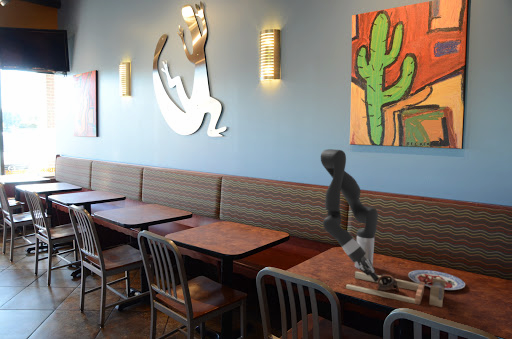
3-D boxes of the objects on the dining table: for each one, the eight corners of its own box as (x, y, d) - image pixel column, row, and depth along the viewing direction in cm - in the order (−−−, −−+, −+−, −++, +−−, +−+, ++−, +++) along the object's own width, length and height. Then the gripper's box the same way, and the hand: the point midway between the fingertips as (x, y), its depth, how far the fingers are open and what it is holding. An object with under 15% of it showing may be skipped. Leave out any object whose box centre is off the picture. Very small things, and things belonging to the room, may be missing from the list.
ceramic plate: (408, 287, 190) (408, 281, 190) (407, 271, 214) (408, 265, 214) (468, 297, 181) (469, 291, 181) (460, 279, 205) (461, 273, 205)
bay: (355, 276, 201) (356, 269, 201) (423, 290, 186) (424, 282, 186) (346, 288, 185) (346, 280, 185) (419, 304, 170) (420, 295, 170)
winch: (431, 294, 182) (433, 275, 181) (443, 297, 180) (445, 277, 179) (428, 306, 169) (430, 286, 168) (441, 309, 166) (443, 288, 165)
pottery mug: (404, 295, 181) (399, 281, 178) (384, 303, 181) (380, 290, 178) (391, 279, 192) (387, 266, 189) (374, 287, 192) (369, 274, 189)
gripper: (356, 249, 184) (381, 280, 180) (362, 242, 196) (386, 272, 191) (343, 258, 187) (368, 289, 183) (351, 251, 199) (374, 280, 194)
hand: (377, 280), depth 187 cm, fingers closed
